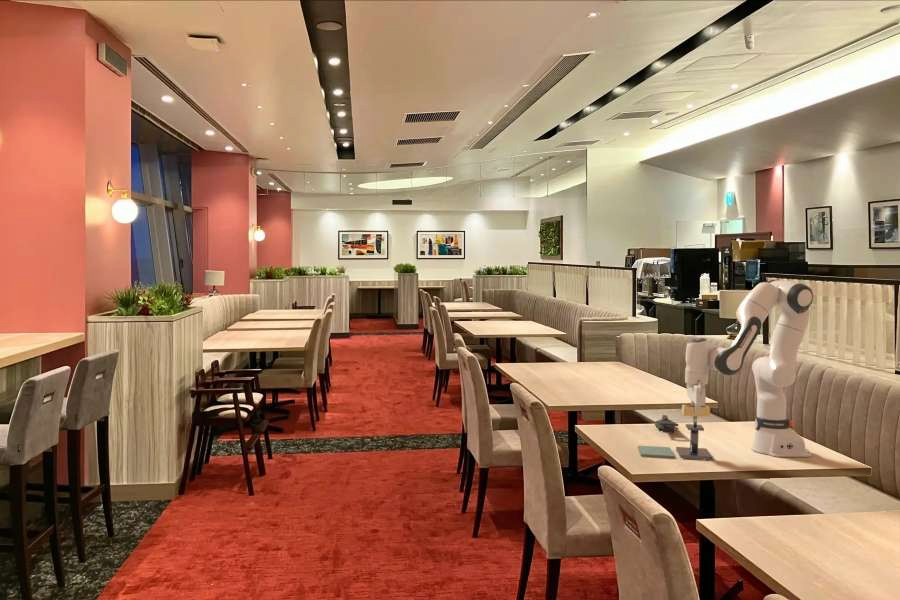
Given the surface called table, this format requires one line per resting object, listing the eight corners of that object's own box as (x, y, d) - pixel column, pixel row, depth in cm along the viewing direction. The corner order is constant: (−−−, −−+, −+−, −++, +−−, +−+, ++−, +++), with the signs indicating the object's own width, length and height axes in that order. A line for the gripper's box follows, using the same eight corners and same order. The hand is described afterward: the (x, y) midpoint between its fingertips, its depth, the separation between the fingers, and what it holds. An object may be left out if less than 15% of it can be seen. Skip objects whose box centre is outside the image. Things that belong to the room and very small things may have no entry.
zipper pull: (659, 423, 305) (654, 411, 330) (658, 437, 306) (654, 424, 330) (679, 424, 303) (674, 412, 328) (679, 439, 304) (673, 425, 328)
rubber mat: (669, 449, 286) (669, 447, 286) (674, 458, 273) (674, 456, 273) (637, 447, 288) (637, 445, 288) (641, 456, 275) (641, 454, 275)
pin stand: (706, 452, 283) (707, 412, 282) (712, 460, 271) (713, 419, 270) (676, 450, 285) (677, 411, 284) (680, 458, 273) (682, 417, 272)
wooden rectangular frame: (707, 413, 278) (707, 405, 278) (709, 416, 274) (710, 408, 273) (681, 412, 280) (682, 404, 280) (683, 415, 275) (684, 407, 275)
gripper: (710, 383, 265) (709, 418, 266) (699, 374, 285) (699, 407, 286) (693, 382, 266) (692, 417, 267) (684, 374, 286) (683, 406, 287)
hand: (695, 412), depth 277 cm, fingers closed on wooden rectangular frame, 5 cm apart
